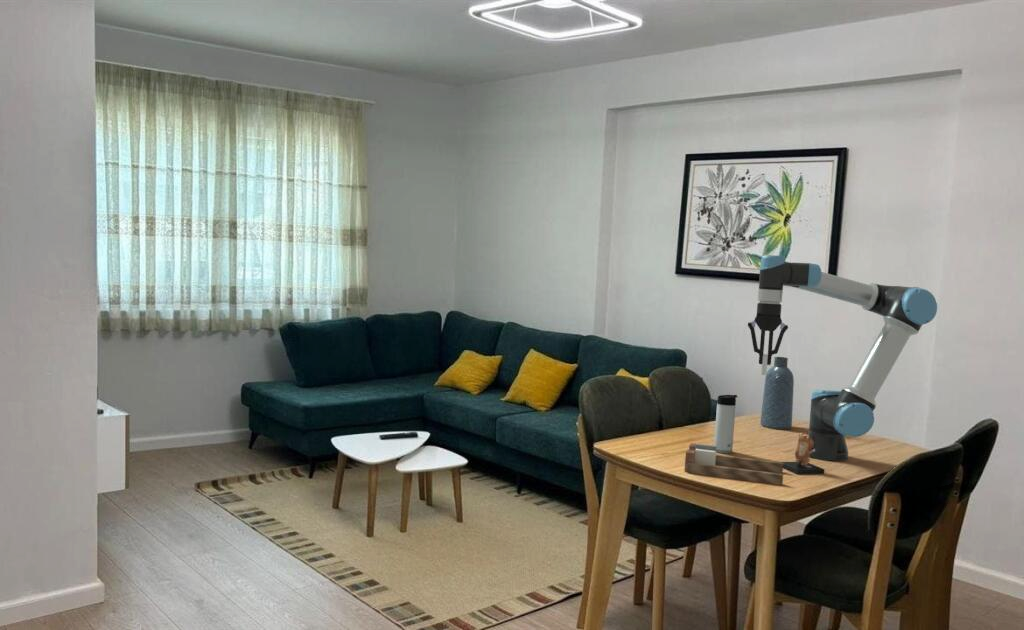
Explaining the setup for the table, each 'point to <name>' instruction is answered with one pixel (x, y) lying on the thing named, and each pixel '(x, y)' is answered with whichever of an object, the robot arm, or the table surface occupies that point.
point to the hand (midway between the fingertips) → (763, 374)
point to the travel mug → (725, 423)
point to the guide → (735, 472)
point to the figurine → (803, 458)
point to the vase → (778, 396)
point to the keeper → (705, 454)
